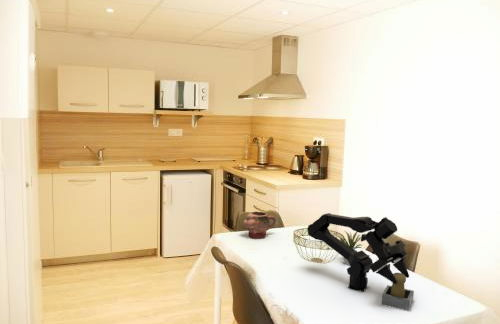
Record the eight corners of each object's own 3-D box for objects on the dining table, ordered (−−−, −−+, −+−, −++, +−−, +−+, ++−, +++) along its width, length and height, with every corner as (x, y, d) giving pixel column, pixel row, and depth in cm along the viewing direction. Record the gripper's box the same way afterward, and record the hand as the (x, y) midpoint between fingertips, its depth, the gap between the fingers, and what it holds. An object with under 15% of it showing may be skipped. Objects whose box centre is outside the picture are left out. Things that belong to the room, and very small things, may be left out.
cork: (396, 296, 163) (398, 269, 162) (409, 302, 158) (411, 275, 157) (385, 299, 160) (387, 272, 159) (397, 306, 155) (399, 278, 154)
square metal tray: (381, 304, 158) (381, 294, 157) (386, 294, 166) (387, 285, 166) (409, 311, 153) (409, 300, 152) (413, 300, 161) (413, 290, 161)
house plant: (364, 259, 207) (366, 227, 205) (369, 269, 193) (371, 235, 191) (335, 257, 208) (337, 226, 206) (338, 267, 195) (340, 234, 193)
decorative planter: (269, 231, 251) (270, 209, 249) (279, 237, 240) (280, 214, 238) (239, 235, 242) (240, 212, 241) (248, 241, 231) (249, 217, 230)
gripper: (379, 239, 153) (405, 276, 146) (404, 230, 166) (429, 264, 159) (359, 253, 160) (384, 290, 153) (384, 244, 172) (408, 277, 165)
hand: (402, 280), depth 157 cm, fingers open, 9 cm apart
